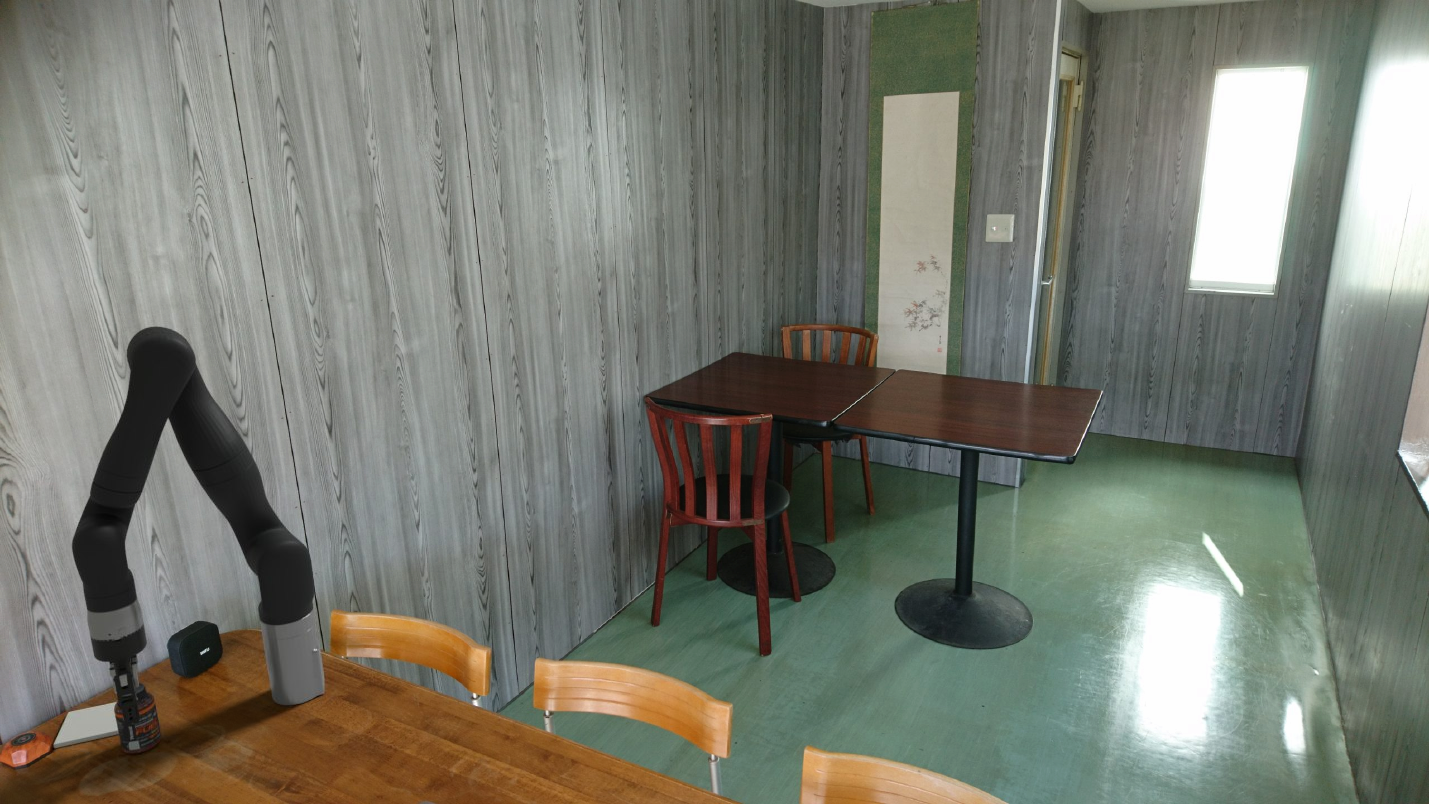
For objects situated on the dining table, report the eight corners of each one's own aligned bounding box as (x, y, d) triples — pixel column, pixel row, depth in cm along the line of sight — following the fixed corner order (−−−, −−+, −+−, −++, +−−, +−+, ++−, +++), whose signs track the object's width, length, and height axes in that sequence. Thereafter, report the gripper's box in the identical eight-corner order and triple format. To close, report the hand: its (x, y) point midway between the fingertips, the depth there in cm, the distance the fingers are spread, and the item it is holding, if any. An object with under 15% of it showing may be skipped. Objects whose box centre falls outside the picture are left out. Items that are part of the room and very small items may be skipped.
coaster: (132, 702, 162) (131, 698, 162) (121, 733, 153) (120, 729, 153) (69, 715, 158) (68, 712, 158) (54, 748, 149) (53, 744, 149)
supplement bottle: (142, 757, 147) (130, 701, 144) (113, 753, 148) (101, 697, 145) (170, 735, 153) (159, 681, 150) (142, 731, 154) (130, 677, 151)
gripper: (90, 615, 147) (106, 696, 152) (88, 652, 136) (105, 739, 140) (142, 603, 152) (155, 683, 156) (144, 638, 140) (159, 723, 144)
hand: (132, 709), depth 148 cm, fingers open, 8 cm apart
